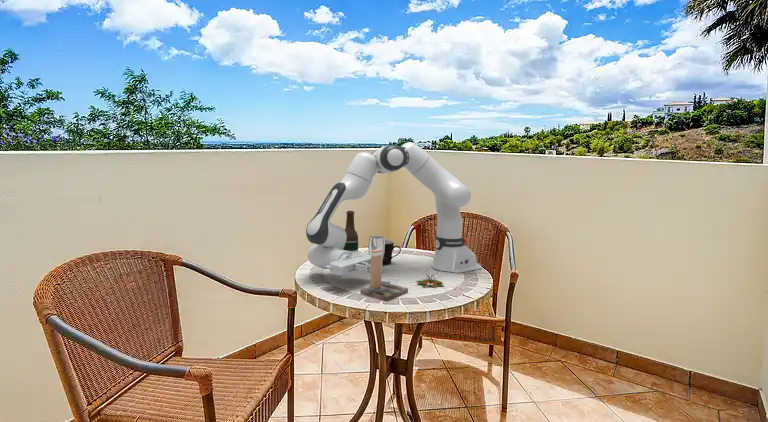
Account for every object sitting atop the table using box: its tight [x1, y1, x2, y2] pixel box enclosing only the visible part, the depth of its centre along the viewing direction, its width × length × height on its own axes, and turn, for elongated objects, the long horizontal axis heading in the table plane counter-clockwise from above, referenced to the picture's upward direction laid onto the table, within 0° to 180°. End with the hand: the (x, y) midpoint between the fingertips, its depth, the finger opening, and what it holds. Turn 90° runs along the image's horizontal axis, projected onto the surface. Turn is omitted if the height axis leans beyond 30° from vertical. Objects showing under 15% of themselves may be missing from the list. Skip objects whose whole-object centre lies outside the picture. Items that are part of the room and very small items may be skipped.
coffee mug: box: [382, 239, 402, 266], centre depth 206 cm, size 12×9×10 cm
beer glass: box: [367, 234, 386, 273], centre depth 193 cm, size 7×7×15 cm
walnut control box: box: [360, 281, 409, 302], centre depth 166 cm, size 12×13×3 cm
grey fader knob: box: [381, 279, 391, 286], centre depth 169 cm, size 2×2×2 cm
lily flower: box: [416, 272, 445, 289], centre depth 178 cm, size 12×12×5 cm
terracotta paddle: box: [369, 249, 382, 288], centre depth 165 cm, size 2×4×14 cm, turn 143°
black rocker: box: [374, 288, 387, 293], centre depth 160 cm, size 4×2×1 cm, turn 53°
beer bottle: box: [343, 210, 359, 251], centre depth 203 cm, size 8×8×24 cm
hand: (369, 268), depth 167 cm, fingers closed
